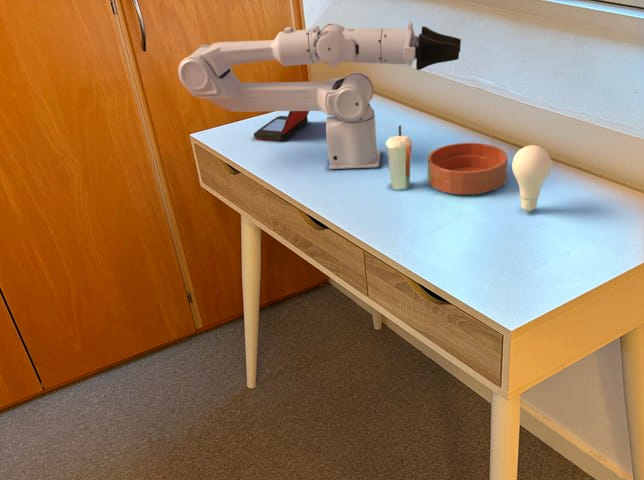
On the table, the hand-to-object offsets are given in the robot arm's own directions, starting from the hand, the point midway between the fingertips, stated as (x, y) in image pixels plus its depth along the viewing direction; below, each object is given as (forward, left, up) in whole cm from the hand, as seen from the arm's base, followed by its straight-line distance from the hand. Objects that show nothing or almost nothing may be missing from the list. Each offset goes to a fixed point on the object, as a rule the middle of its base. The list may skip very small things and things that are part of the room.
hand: (459, 48), depth 127 cm
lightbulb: (+10, -23, -21) cm, 33 cm away
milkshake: (-11, -11, -21) cm, 26 cm away
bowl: (+1, -10, -20) cm, 23 cm away
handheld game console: (-37, +21, -21) cm, 47 cm away
